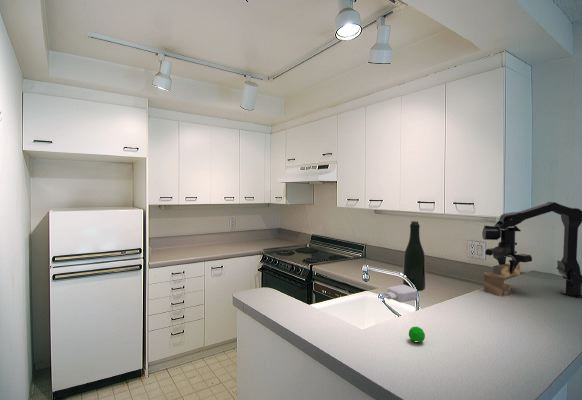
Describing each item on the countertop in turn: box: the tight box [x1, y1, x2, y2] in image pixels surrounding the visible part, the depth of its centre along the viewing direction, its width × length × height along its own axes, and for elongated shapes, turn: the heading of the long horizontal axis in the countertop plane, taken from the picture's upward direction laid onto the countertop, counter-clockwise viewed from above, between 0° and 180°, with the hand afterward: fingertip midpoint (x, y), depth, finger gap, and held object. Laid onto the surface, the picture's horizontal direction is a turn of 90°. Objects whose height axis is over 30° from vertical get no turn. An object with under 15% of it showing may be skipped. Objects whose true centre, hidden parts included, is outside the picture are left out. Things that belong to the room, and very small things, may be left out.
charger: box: [381, 284, 418, 303], centre depth 146 cm, size 5×9×15 cm
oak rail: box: [492, 262, 521, 278], centre depth 156 cm, size 14×4×5 cm, turn 114°
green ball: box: [408, 326, 426, 342], centre depth 107 cm, size 5×5×5 cm
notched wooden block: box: [483, 271, 511, 297], centre depth 153 cm, size 6×9×9 cm
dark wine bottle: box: [402, 220, 427, 292], centre depth 160 cm, size 10×10×33 cm
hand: (507, 272), depth 156 cm, fingers closed on oak rail, 3 cm apart
